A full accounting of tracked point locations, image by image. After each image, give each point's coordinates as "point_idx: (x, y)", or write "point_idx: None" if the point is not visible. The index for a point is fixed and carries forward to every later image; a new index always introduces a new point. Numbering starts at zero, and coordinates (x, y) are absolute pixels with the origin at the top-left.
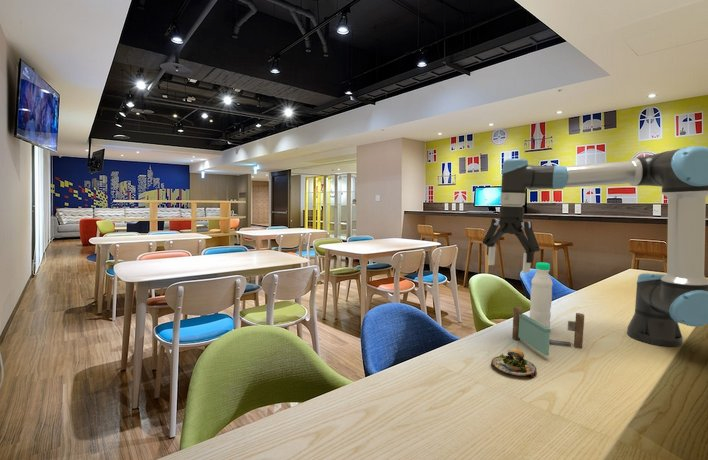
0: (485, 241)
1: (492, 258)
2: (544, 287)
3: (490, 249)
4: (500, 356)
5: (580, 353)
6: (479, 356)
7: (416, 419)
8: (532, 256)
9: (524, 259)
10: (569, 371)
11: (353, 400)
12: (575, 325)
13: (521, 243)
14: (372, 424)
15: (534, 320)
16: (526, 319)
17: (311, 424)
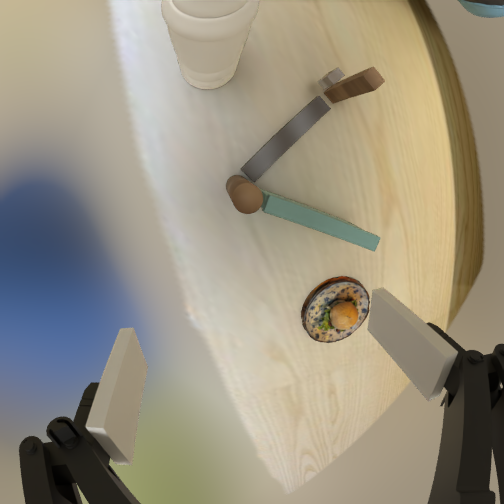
0: (74, 488)
1: (132, 377)
2: (245, 28)
3: (133, 449)
4: (321, 328)
5: (356, 127)
6: (272, 329)
7: (336, 432)
8: (454, 346)
9: (411, 371)
10: (385, 227)
11: (286, 458)
12: (347, 85)
13: (441, 452)
14: (321, 451)
15: (324, 217)
16: (302, 224)
17: (297, 472)
